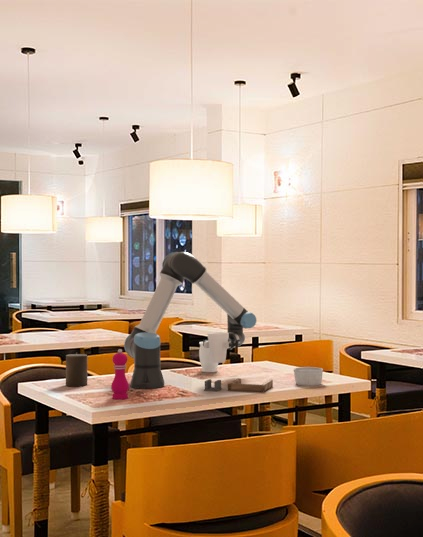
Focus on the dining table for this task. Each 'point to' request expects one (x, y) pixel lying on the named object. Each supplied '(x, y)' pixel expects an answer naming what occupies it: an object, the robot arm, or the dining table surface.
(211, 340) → the foam cup
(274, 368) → the dining table surface
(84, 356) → the pillar candle
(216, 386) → the clip
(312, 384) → the ramekin
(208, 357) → the jar
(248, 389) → the end holder
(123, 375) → the pepper mill
